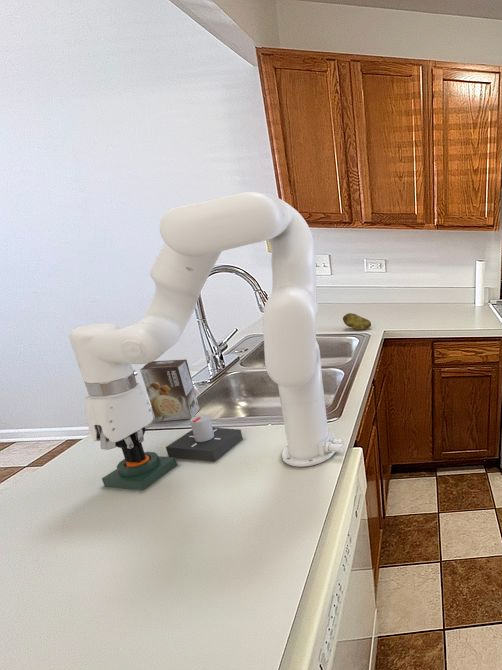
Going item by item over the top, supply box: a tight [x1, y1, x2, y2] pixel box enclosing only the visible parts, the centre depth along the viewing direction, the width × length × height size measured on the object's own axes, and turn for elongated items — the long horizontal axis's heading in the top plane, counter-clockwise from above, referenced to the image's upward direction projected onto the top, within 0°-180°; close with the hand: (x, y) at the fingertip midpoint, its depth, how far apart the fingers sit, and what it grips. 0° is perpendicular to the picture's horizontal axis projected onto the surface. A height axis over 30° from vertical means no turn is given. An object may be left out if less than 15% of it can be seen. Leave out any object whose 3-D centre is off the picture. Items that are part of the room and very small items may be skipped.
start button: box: [126, 455, 150, 467], centre depth 88 cm, size 4×4×2 cm
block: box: [101, 451, 178, 491], centre depth 88 cm, size 9×9×4 cm
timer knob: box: [189, 414, 214, 442], centre depth 97 cm, size 4×4×6 cm
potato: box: [342, 312, 372, 331], centre depth 198 cm, size 8×13×8 cm, turn 81°
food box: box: [139, 358, 200, 423], centre depth 111 cm, size 9×6×16 cm
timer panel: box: [165, 426, 243, 463], centre depth 99 cm, size 12×10×3 cm
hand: (136, 460), depth 87 cm, fingers closed
